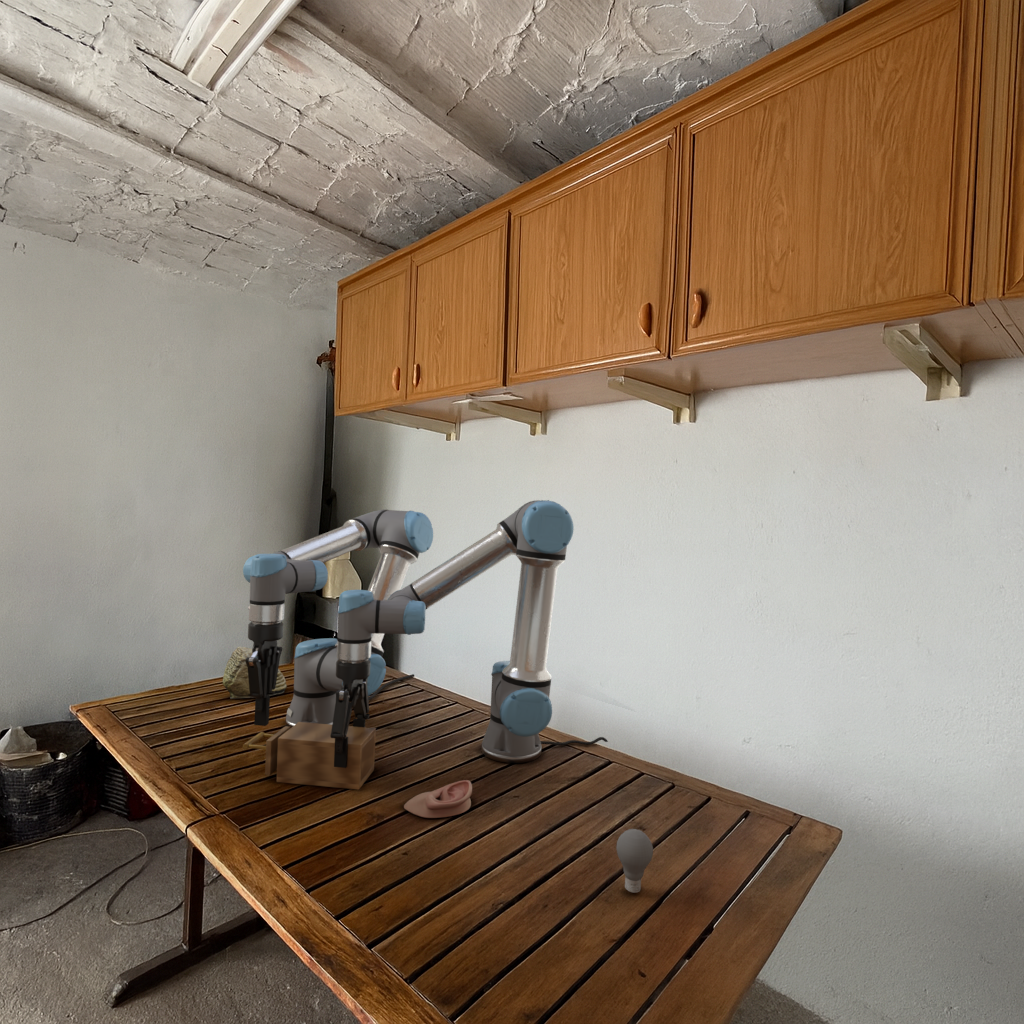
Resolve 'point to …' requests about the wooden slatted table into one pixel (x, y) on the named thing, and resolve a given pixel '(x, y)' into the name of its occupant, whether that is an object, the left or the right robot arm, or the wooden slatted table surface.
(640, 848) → the light bulb
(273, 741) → the drawer
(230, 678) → the fossil
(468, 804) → the anatomical model
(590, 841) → the wooden slatted table surface
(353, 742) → the cabinet
